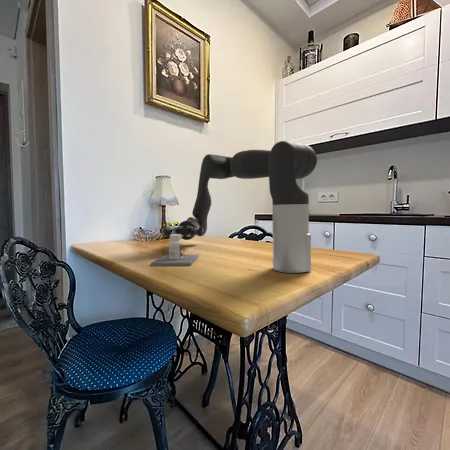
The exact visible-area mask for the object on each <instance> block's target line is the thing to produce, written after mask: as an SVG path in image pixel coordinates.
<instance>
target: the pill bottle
mask: <svg viewBox="0 0 450 450" xmlns="http://www.w3.org/2000/svg"><path fill="white" fill-rule="evenodd" d="M171 234H172V233H171ZM169 237H170V238H169V239H170V241H169V242H168V253H169V254H168V255H169V258H170V259H173V260H176V259H182V258H183V255H184V247H183V245H184V244H183V241H182V240H181V239H182V238H181V234H172V235H170V236H169Z"/></svg>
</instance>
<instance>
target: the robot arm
mask: <svg viewBox="0 0 450 450" xmlns="http://www.w3.org/2000/svg"><path fill="white" fill-rule="evenodd" d="M317 164H318V157H317V153H316V152H315V150H314V149H313V148H312V147H311V146H310V145H308V144H305V143H301V142H295V141H289V140H288V141H287V140H281V141H278V142H276V143H275V144H273V146H272V148H271V149H270V150H269V149H268V150H267V149H248V150H247V149H246V150H242V151H238V152H236V153H235V154H234V155H233V156H225V155H219V154H218V155H217V154H211V153H210V154H206V155H205V156H204V157H203V158H202V162H201V165H200V166H201V167H200V170H199V179H198V185H197V187H198V188H197V195H196V199H195V202H194V206H193V209H192V212H191V213H192V214H191V215H192V216H189V217H188V218H187V219H186V220H183V221H181V222H180V223H179V224H178V226H173V227H167V228H163V229H162V233H163V234H162V235H163V236H164V237H170V235H172V234H181V239H182V240H184V241H189V240H192V239H194V238H195V237H196V236H198V237H203V236H204V235H205V234H206V233H207V229H208V217H209V212H210V210H211V207H212V196H211V193H210V190H209V182H210V179H217V180H225V179H229V178H230V179H231V178H237V179H242V180H244V179H245V180H247V179H248V180H250V179H251V180H253V179H254V180H255V179H262V178H268V183H269V184H268V185H269V194H270V196H271V200H272V269H273V271H276V272H280V273H286V274H296V273H297V274H299V273H305V272H307V273H308V272H312V235H311V233H309V228H310V227H309V226H310V225H309V223H310V222H309V220H310V218H309V217H310V216H309V214H310V213H309V211H310V209H309V208H310V207H309V205H310V204H309V203H310V202H309V197H310V196H309V194H308V193H307V191H304V190H303V189H302V188H301V187H300V186H299V185H298V183H297V180H300V179H304V178H306V177H308V176H309V175H311V174H312V173H313V172H314V171H315V169H316V166H317Z"/></svg>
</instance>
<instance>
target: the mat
mask: <svg viewBox="0 0 450 450" xmlns="http://www.w3.org/2000/svg"><path fill="white" fill-rule="evenodd" d="M199 258H200V255H199V254H183V258H182V259H176V260H173V259H170V258H169V254H164V255H162V256H160V257H159V258H157V259H156V260H154V261H151V262H150V266H151V267H161V266H162V267H169V266H170V267H183V266H184V267H187V266H189V267H191V266H192V265H193V264H194V263H195V261H197V259H199Z"/></svg>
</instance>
